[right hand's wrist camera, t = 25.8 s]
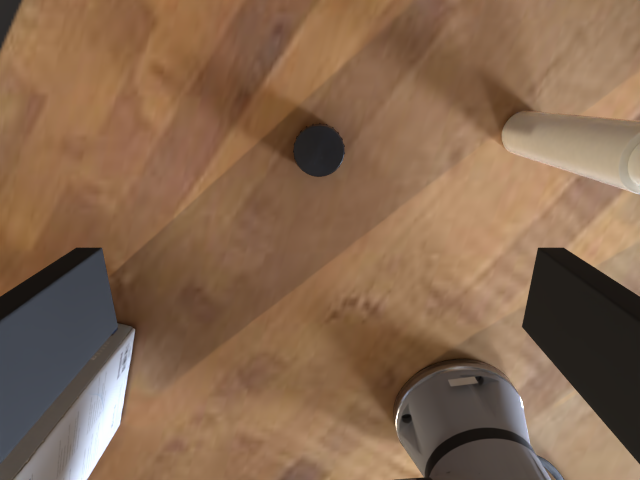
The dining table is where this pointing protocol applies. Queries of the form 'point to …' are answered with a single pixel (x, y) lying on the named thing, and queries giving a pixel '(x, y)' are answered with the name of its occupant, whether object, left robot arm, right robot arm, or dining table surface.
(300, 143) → the lid
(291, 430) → the dining table surface
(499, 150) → the dining table surface
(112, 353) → the hard drive box
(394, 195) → the dining table surface
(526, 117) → the white plastic cylinder
